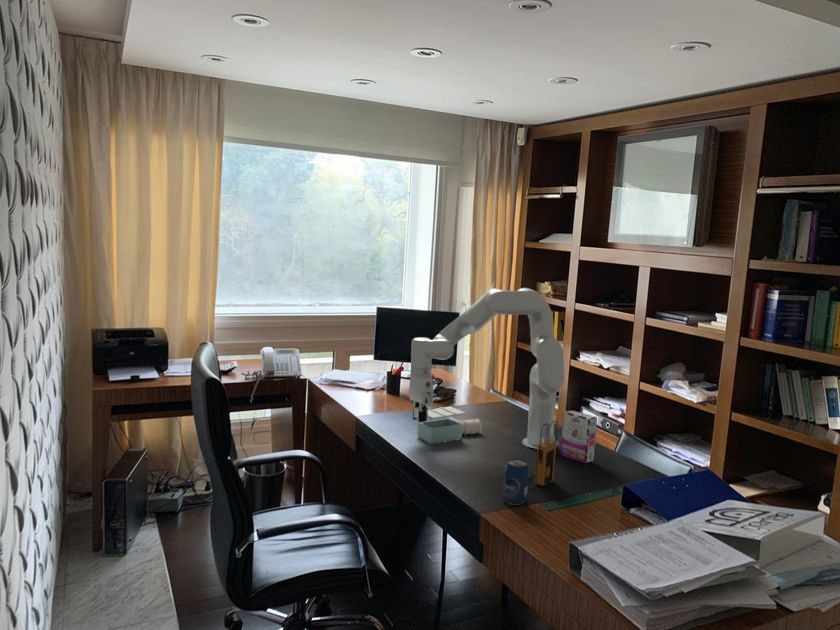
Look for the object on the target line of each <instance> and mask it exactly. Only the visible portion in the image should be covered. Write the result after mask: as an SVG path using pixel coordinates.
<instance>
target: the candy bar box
mask: <svg viewBox="0 0 840 630" xmlns="http://www.w3.org/2000/svg"><path fill="white" fill-rule="evenodd" d="M562 417H563V418H562V430H561V431H562V433H561V445H560V455H561V454H563V455H566V456H568V457H571V458H574V459H577V460H579V461H583V462H585V463H587V462H590V461H593V460H594V461H595V449H596V437H597V426H598V425H597V424H598V417H597V416H595V415H591V414H588V413H587V414H586V413H584V412H581V411H580V412H579V411H576V410H571V409H570V410H566V411H563V416H562Z"/></svg>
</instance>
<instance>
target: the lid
mask: <svg viewBox="0 0 840 630" xmlns="http://www.w3.org/2000/svg"><path fill="white" fill-rule="evenodd" d="M419 411H420V407H416V408H414V417H415V418H417V419H416V420H419ZM466 414H467V412H465V411H463V410H461V409H458V408H455V407H454V406H445V407H442V406H439V407H437V408H428V411H427V419H429V420H438V419H445V418H448V417H452V418H454V417H458V416H465V415H466Z"/></svg>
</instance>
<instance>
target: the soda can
mask: <svg viewBox="0 0 840 630" xmlns="http://www.w3.org/2000/svg"><path fill="white" fill-rule="evenodd" d="M529 470H530V469H529V466H528V463H527V462H526V460H523V459H518V458H511V459H508V460H507V461H506V464H505V466H504V473H503V474H504V475H503V488H502V489H503V490H502V498H503V500H505V501H506V502H508V503H512V504H522V503H524V502H525V503H526V502H527V500H528V489H529V488H528V487H529V486H528V485H529V478H528V476H529V475H530V471H529ZM505 501H504V502H505ZM506 502H505V503H506ZM525 503H524V504H525Z"/></svg>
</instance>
